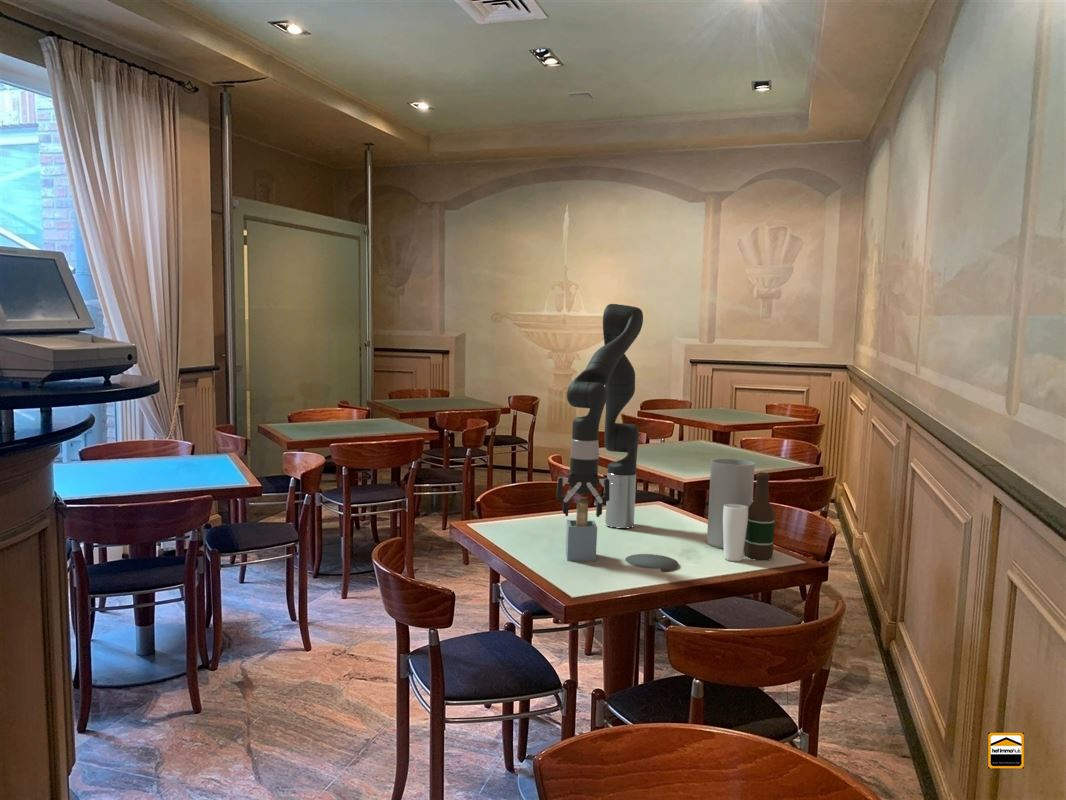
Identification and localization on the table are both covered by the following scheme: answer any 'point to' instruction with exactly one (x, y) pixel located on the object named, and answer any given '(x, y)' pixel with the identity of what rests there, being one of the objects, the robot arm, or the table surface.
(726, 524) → the drinking glass
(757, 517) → the beer bottle
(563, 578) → the table surface
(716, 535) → the cylinder vase
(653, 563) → the gray disc
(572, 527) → the deep cup
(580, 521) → the beech dowel
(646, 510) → the table surface
